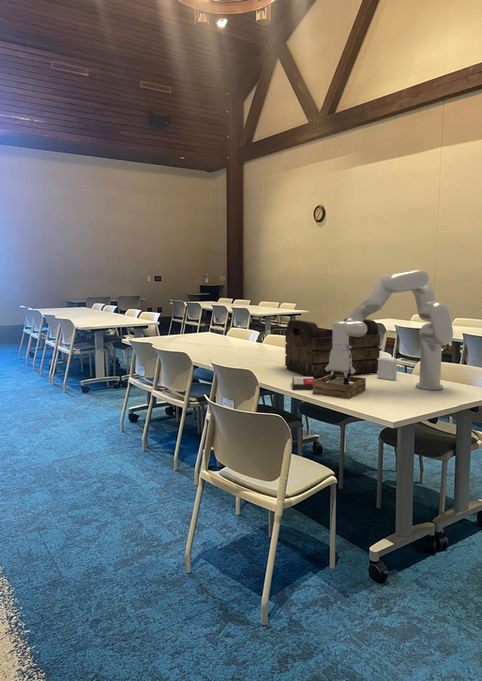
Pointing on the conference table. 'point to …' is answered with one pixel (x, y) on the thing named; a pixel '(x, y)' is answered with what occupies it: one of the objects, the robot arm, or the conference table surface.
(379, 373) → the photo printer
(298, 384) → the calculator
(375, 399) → the conference table surface
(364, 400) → the conference table surface
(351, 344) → the wooden crate
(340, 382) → the box
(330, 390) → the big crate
